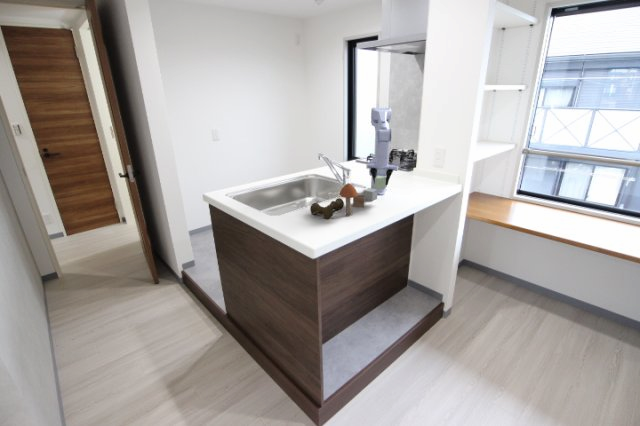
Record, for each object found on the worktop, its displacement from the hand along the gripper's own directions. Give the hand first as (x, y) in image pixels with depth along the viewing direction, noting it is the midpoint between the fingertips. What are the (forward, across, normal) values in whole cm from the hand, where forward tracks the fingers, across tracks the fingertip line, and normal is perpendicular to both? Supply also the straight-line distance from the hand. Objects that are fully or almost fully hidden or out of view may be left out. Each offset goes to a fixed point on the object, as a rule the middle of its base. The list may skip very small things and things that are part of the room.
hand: (380, 184), depth 153 cm
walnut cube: (+10, -9, -6) cm, 15 cm away
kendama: (+10, -20, -21) cm, 31 cm away
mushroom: (+10, -10, -20) cm, 25 cm away
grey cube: (+10, -6, +5) cm, 13 cm away
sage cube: (+2, 0, 0) cm, 2 cm away
